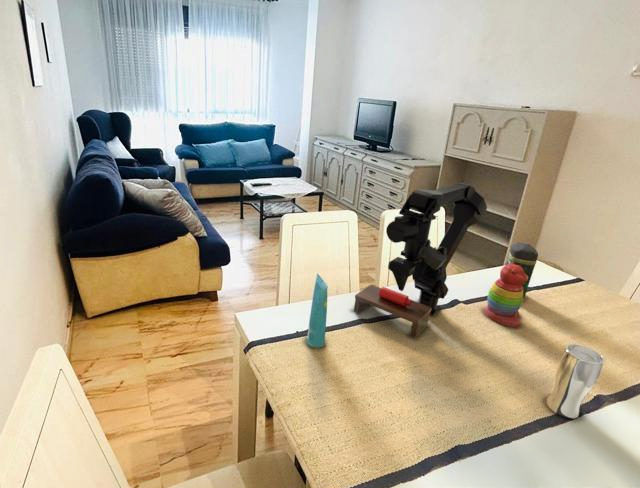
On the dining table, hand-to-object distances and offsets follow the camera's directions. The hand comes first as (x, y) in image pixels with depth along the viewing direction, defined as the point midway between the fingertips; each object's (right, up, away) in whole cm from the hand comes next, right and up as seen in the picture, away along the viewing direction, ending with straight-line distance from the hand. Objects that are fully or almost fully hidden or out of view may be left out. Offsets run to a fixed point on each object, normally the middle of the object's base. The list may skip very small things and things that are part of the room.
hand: (408, 285), depth 113 cm
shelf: (-4, -11, +5) cm, 12 cm away
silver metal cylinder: (+26, -25, -26) cm, 44 cm away
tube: (-28, -15, -8) cm, 33 cm away
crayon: (-4, -5, +2) cm, 7 cm away
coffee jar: (+44, -6, +23) cm, 50 cm away
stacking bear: (+32, -11, +9) cm, 36 cm away
